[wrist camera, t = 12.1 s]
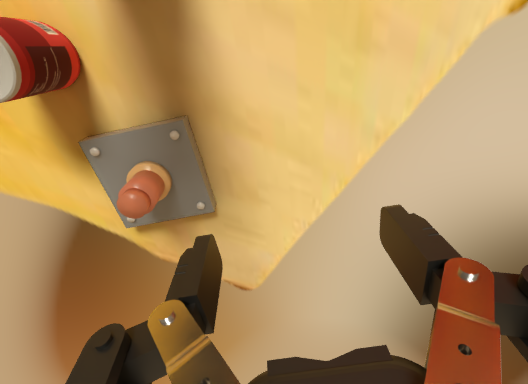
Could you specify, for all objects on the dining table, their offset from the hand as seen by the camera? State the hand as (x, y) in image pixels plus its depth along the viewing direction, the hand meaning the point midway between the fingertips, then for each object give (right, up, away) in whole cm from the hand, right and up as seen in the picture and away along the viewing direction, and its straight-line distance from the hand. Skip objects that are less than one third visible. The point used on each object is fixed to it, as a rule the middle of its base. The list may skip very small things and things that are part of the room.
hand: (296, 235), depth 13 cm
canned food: (-29, +19, +21) cm, 41 cm away
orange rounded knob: (-18, +3, +26) cm, 32 cm away
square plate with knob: (-18, +5, +29) cm, 35 cm away
